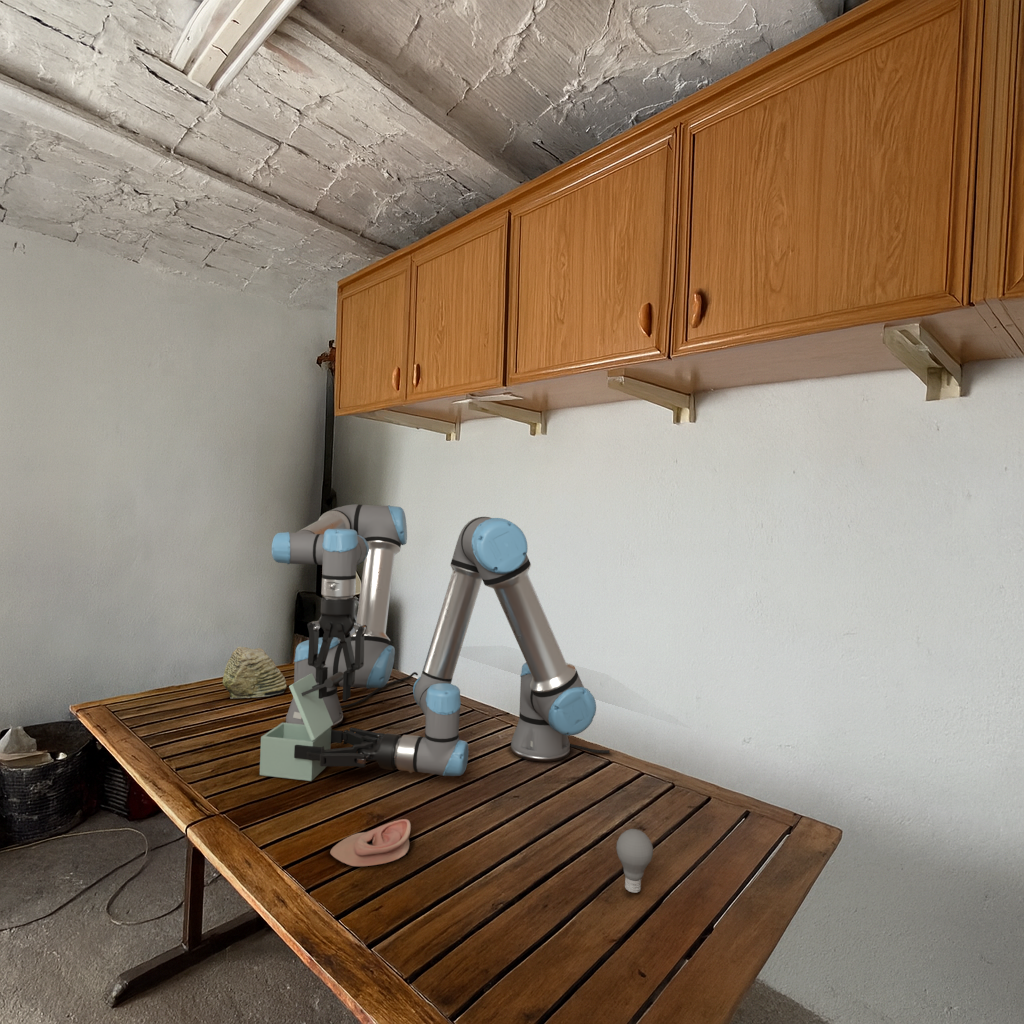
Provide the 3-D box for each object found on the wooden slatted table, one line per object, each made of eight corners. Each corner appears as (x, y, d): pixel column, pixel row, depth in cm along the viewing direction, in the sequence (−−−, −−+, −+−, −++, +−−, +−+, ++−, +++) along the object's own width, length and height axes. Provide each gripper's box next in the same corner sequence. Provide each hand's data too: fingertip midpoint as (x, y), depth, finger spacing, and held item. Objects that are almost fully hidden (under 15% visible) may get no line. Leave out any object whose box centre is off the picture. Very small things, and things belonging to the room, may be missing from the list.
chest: (259, 775, 143) (260, 736, 142) (281, 758, 152) (282, 722, 152) (311, 781, 141) (312, 742, 141) (330, 763, 150) (331, 727, 150)
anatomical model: (322, 838, 110) (352, 807, 121) (321, 861, 110) (351, 828, 121) (394, 850, 107) (417, 817, 119) (393, 873, 107) (416, 838, 119)
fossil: (218, 695, 195) (220, 647, 195) (278, 685, 208) (279, 640, 207) (228, 703, 189) (230, 653, 188) (289, 692, 201) (290, 645, 201)
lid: (288, 686, 141) (324, 671, 140) (308, 674, 151) (342, 660, 150) (311, 740, 141) (346, 726, 139) (329, 725, 150) (363, 712, 149)
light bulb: (610, 879, 108) (613, 822, 108) (644, 879, 109) (647, 822, 109) (619, 902, 102) (622, 840, 102) (655, 901, 103) (658, 840, 103)
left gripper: (293, 596, 142) (289, 699, 142) (370, 601, 139) (366, 706, 140) (308, 591, 149) (304, 689, 150) (382, 596, 147) (378, 696, 147)
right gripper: (381, 790, 132) (281, 779, 135) (413, 749, 154) (326, 740, 157) (382, 755, 132) (282, 744, 135) (414, 719, 154) (327, 710, 157)
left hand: (334, 697), depth 145 cm, fingers open, 5 cm apart
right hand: (306, 742), depth 146 cm, fingers closed on chest, 10 cm apart
